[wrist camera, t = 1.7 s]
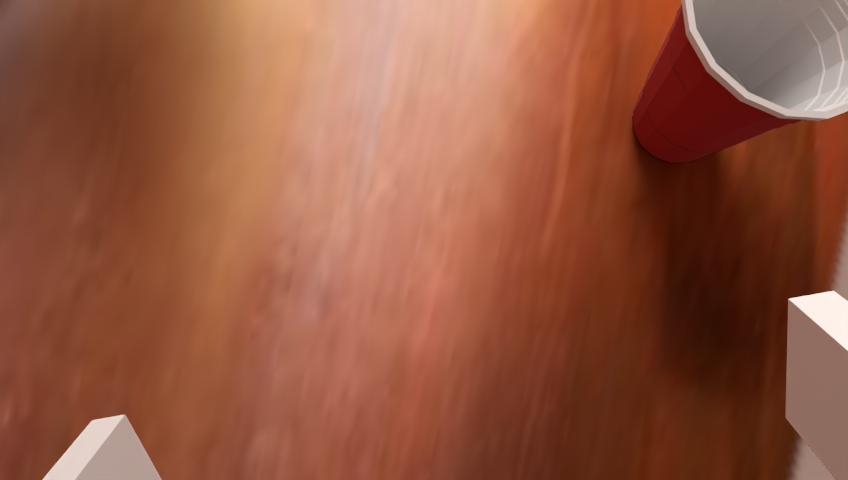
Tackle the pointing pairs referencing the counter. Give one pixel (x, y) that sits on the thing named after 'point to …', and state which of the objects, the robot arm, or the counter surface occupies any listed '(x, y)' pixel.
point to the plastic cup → (742, 74)
